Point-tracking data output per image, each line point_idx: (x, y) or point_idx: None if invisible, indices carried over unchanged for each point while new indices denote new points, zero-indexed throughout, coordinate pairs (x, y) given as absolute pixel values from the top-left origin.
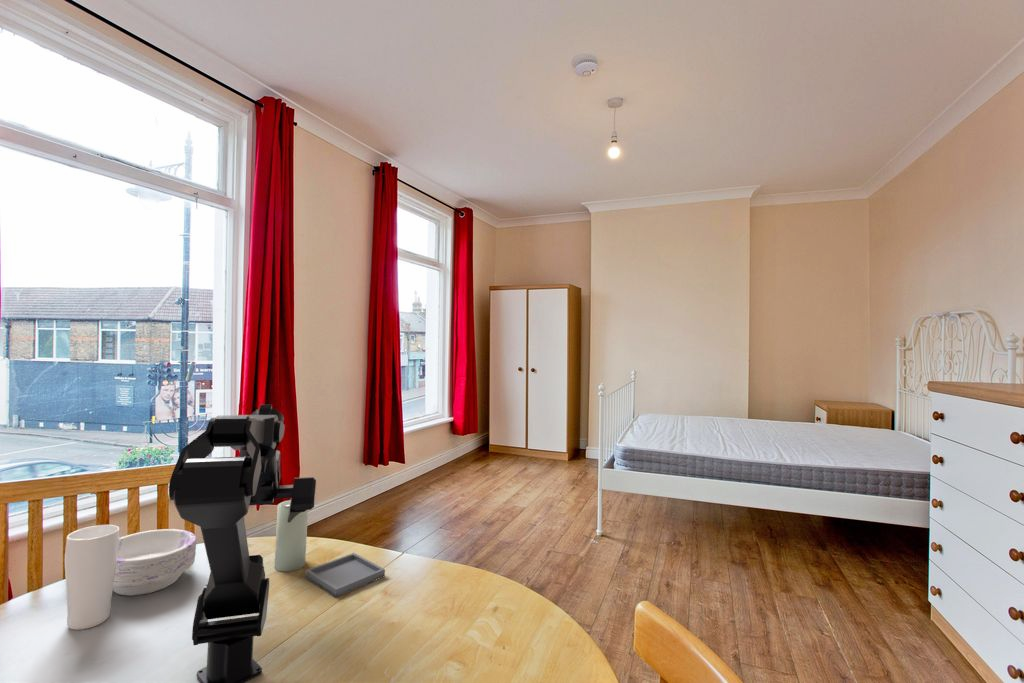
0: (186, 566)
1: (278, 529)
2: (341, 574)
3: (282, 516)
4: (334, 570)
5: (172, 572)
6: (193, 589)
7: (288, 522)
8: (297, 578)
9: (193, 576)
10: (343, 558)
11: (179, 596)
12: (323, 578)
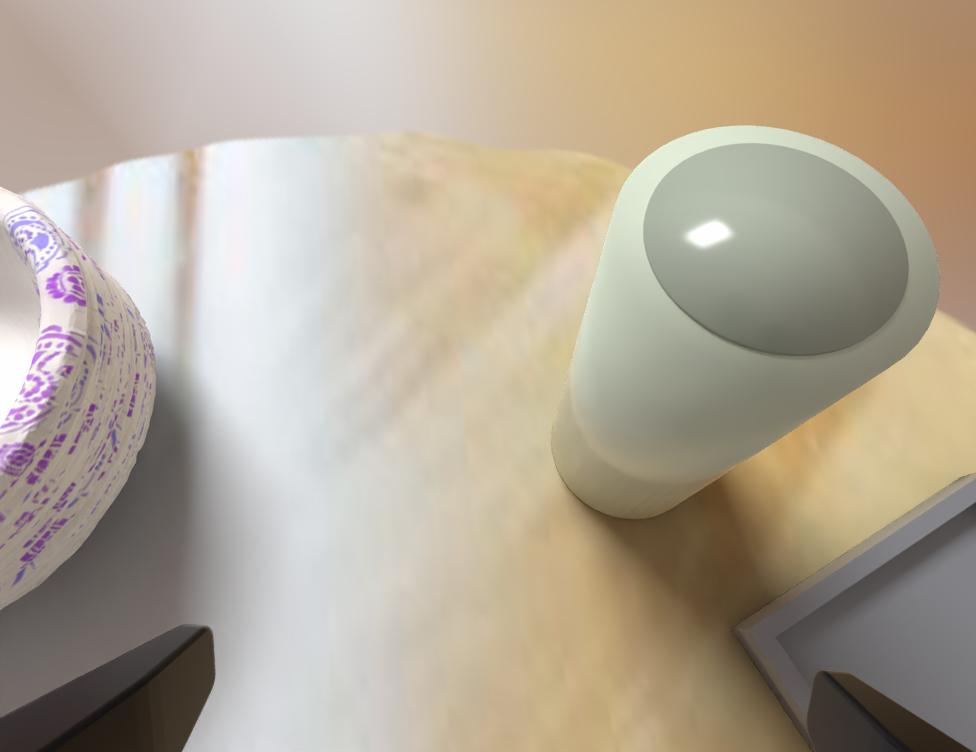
0: (94, 505)
1: (602, 406)
2: (961, 703)
3: (663, 389)
4: (903, 629)
5: (10, 585)
6: (190, 580)
7: (819, 741)
8: (689, 623)
9: (194, 435)
10: (943, 521)
11: (127, 641)
12: None
